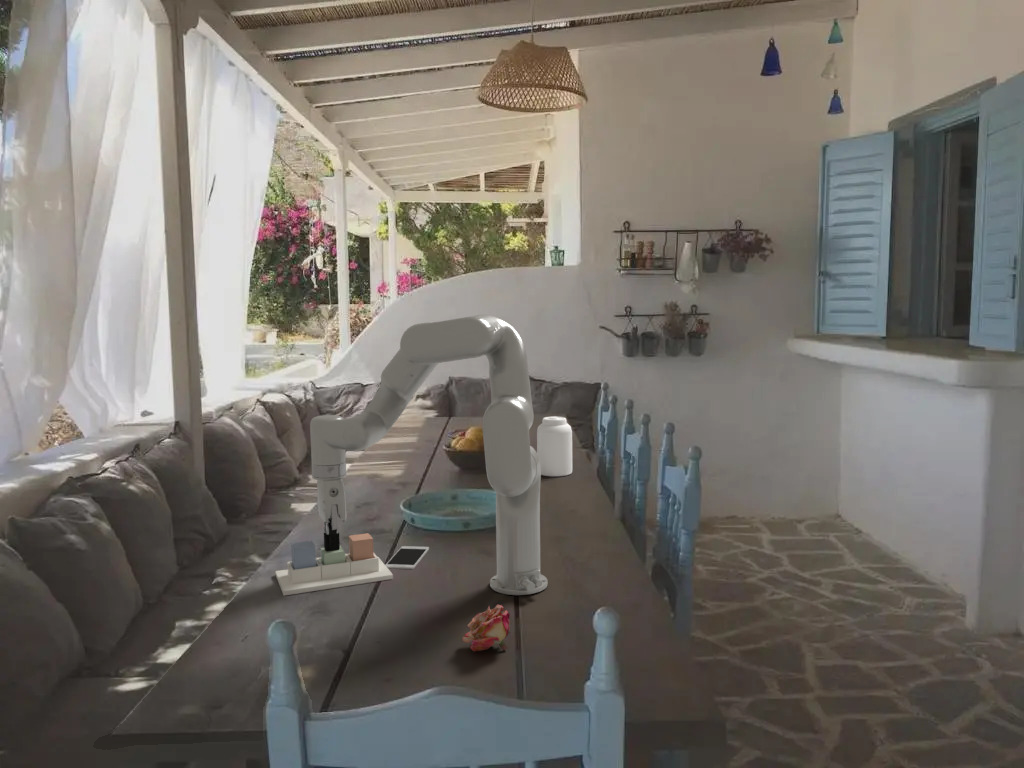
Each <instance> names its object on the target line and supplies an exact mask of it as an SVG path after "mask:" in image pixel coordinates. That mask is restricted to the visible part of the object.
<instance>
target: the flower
mask: <svg viewBox="0 0 1024 768" xmlns="http://www.w3.org/2000/svg"><path fill="white" fill-rule="evenodd" d="M510 616H511V614H510V613H509V611H508V610H507V609H505V610H504V606H503V605H501V604H496V605H495V607H494V608H492V609H491V608H490V606H488V607H487V609H486V610H485V611H484V612H478V613H477V614H476V615H474V616H473V617H472V619H471V621H470V622H469V623H468V624H467V625H466V627H468V629H470V631H468V632H467V633H465V634H464V636H463V637H462V642H464V643H465V644H469V643H470V642H471V644H470V645H469V647H470V650H472V651H473V652H474V653H475V652H478V651H485V650H488V649H491V647H492V646H498V645H499V647H500V648H501V649H502V651H506V650H507V649H508V646H507V645H506V644H505V643H504V641H503V640H504V639H506V638H508V637H509V635H510V633H511V631H510V630H511V621H512V620H510Z"/></svg>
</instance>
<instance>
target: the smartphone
mask: <svg viewBox="0 0 1024 768" xmlns="http://www.w3.org/2000/svg"><path fill="white" fill-rule="evenodd" d="M429 550H430V547H429V546H415V545H412V546H407V545H402V546H401V547H399V548H398V550H397V551H396V552H395V553H394V554H393V556H391V558H390V559H389V560H388V561H387V563H385V566H386V567H387V568H388V569H395V570H396V569H397V570H399V569H400V570H402V569H403V570H413V569H415V568H416V566H417V565H418V563H420V562H421V560H422V559H423V558H424V557H425V555H426V554H427V552H428V551H429Z"/></svg>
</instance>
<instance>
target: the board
mask: <svg viewBox="0 0 1024 768" xmlns="http://www.w3.org/2000/svg"><path fill="white" fill-rule="evenodd" d="M373 554H374V558H372V559H365V560H358V561H352V560H351V558H350V556H349V553H345V562H343V563H336V564H329V565H323V564H322V562H321V556H320V557H316V566H315V567H308V568H301V569H294V568H293V566H292V560H291V561H287V562H286V563H287V569H281V570H276V571H275V572H274V573H275V577H276V580H277V582H278V585H279V588H280V590H281V592H282V595H283V596H289V595H297V594H304V593H311V592H315V591H316V592H317V591H324V590H330V589H337V588H344V587H349V586H357V585H363V584H370V583H375V582H382V581H388V580H394V574H393V573H392V572H391V570H390V568H387V567H386V566H385V565H386V563H384V562H383V561H382V559H381V557H379V556H377V555H376V553H375V552H374V551H373Z"/></svg>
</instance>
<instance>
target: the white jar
mask: <svg viewBox="0 0 1024 768" xmlns="http://www.w3.org/2000/svg"><path fill="white" fill-rule="evenodd" d="M541 422H542V423H540V424H539V425H538V426H537V430H536V452H537V454H538V456H539V459H540V464H541V476H544V477H551V478H552V477H554V478H555V477H565V476H569V475H571V474H572V473H573V430H572V426H571V425H570V424H569V423H568V420H567V418H566V417H564V416H556V415H554V416H545V417H542V420H541Z"/></svg>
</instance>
